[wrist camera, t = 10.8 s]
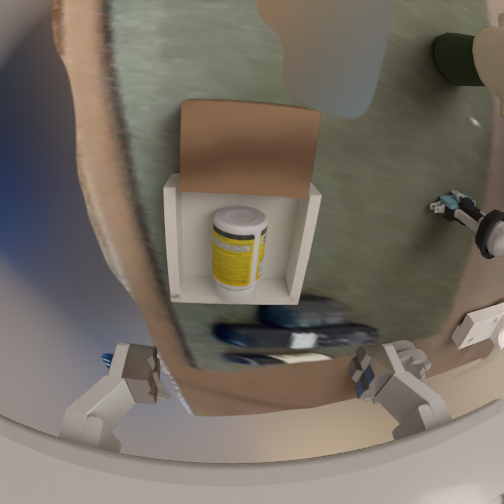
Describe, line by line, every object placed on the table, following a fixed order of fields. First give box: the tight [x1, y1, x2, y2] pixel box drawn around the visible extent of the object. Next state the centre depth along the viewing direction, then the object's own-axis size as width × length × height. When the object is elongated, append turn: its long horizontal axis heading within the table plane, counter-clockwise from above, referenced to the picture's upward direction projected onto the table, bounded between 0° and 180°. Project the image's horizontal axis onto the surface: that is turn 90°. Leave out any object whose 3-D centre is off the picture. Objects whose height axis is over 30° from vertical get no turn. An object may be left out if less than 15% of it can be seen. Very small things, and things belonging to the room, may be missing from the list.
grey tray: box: [163, 173, 322, 305], centre depth 28 cm, size 12×13×4 cm
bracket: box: [451, 302, 504, 351], centre depth 40 cm, size 13×7×8 cm, turn 91°
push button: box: [430, 190, 504, 259], centre depth 25 cm, size 7×5×10 cm
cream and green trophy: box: [434, 13, 504, 118], centre depth 14 cm, size 11×7×13 cm, turn 2°
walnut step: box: [180, 99, 321, 199], centre depth 22 cm, size 7×10×5 cm
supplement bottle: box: [212, 206, 268, 303], centre depth 27 cm, size 5×5×8 cm
